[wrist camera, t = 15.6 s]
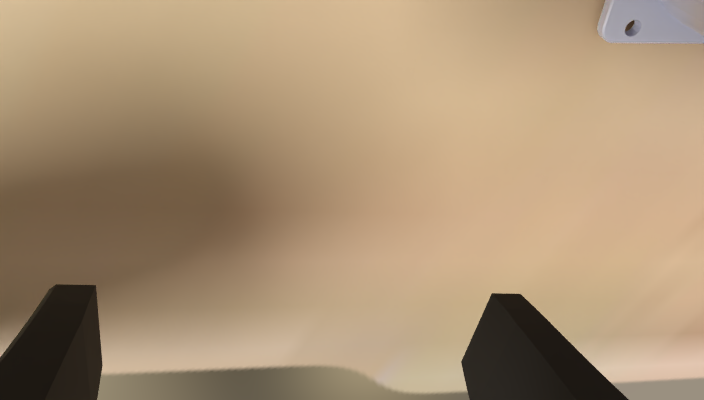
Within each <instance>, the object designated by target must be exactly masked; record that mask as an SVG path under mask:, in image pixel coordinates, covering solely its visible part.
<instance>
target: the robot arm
mask: <svg viewBox="0 0 704 400" xmlns="http://www.w3.org/2000/svg"><path fill="white" fill-rule="evenodd" d="M633 20H634V25H633V26H632V28H631V29H629V30H628V31H625V28H626V26H627V24H628V23H630V22H631V21H633ZM597 31H598V34H599V36H600V37H601V38H603V39H604V40H605V41H607V42H610V43H686V44H704V0H605V3H604V7H603V10H602V13H601V16H600V19H599V22H598V27H597ZM461 363H462V367H463V372H464V377H465V381H466V386H467V390H468V394H469V398H470V400H628V399H627V398H626V397H625V396H624V395H623V394H622V393H621V392H620V391H619V390H618V389H617V388H615V386H614V385H613V384H611V383H610V382H609V381H608V380H607V379H606V378H605V377H604V376H603V375H602V374H601V373H600V372H599V371H598V370H597V369H596V368H595V367H594V366H593V365H592V364H591V363H590V362H589V361H588V360H587V359H586V358H585V357H584V356H583V355H582V354H581V353H580V352H579V351H578V350H577V349H576V348H575V347H574V346H573V345H572V344H571V343H570V342H569V341H568V340H567V339H566V338H565V337H564V336H563V335H562V334H561V333H560V332H559V331H558V330H557V329H556V328H555V327H554V326H553V325H552V324H551V323H550V322H549V321H548V320H547V319H546V318H545V317H544V316H543V315H542V314H541V313H540V312H539V311H538V310H537V309H536V308H535V307H534V306H532V305H531V304H530V303H529V302H528V301H527V300H526V299H525V298H524V297H523V296H522V295H521V294H495V293H492V294H491V297H490V299H489V301H488V303H487V306H486V308H485V310H484V312H483V315H482V317H481V319H480V321H479V324H478V326H477V328H476V330H475V332H474V335H473V337H472V339H471V341H470V344H469V346H468V348H467V350H466V353H465V355H464V357H463V359H462V362H461ZM101 371H102V355H101V343H100V330H99V318H98V306H97V293H96V285H55V286H53V287H52V288H51V289H49V291H48V292H47V294H46V295H45V297H44V298H43V300H42V301H41V303H40V304H39V306H38V307H37V309H36V310H35V311H34V313H33V314H32V316H31V317H30V319H29V320H28V321H27V323H26V324H25V325H24V327H23V328H22V330H21V331H20V332H19V334H18V335H17V336H16V338H15V339H14V340H13V341H12V343H11V344H10V345H9V347H8V348H7V349H6V351H5V352H4V353H3V355H2V356H1V357H0V400H97V396H98V390H99V384H100V377H101Z"/></svg>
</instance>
